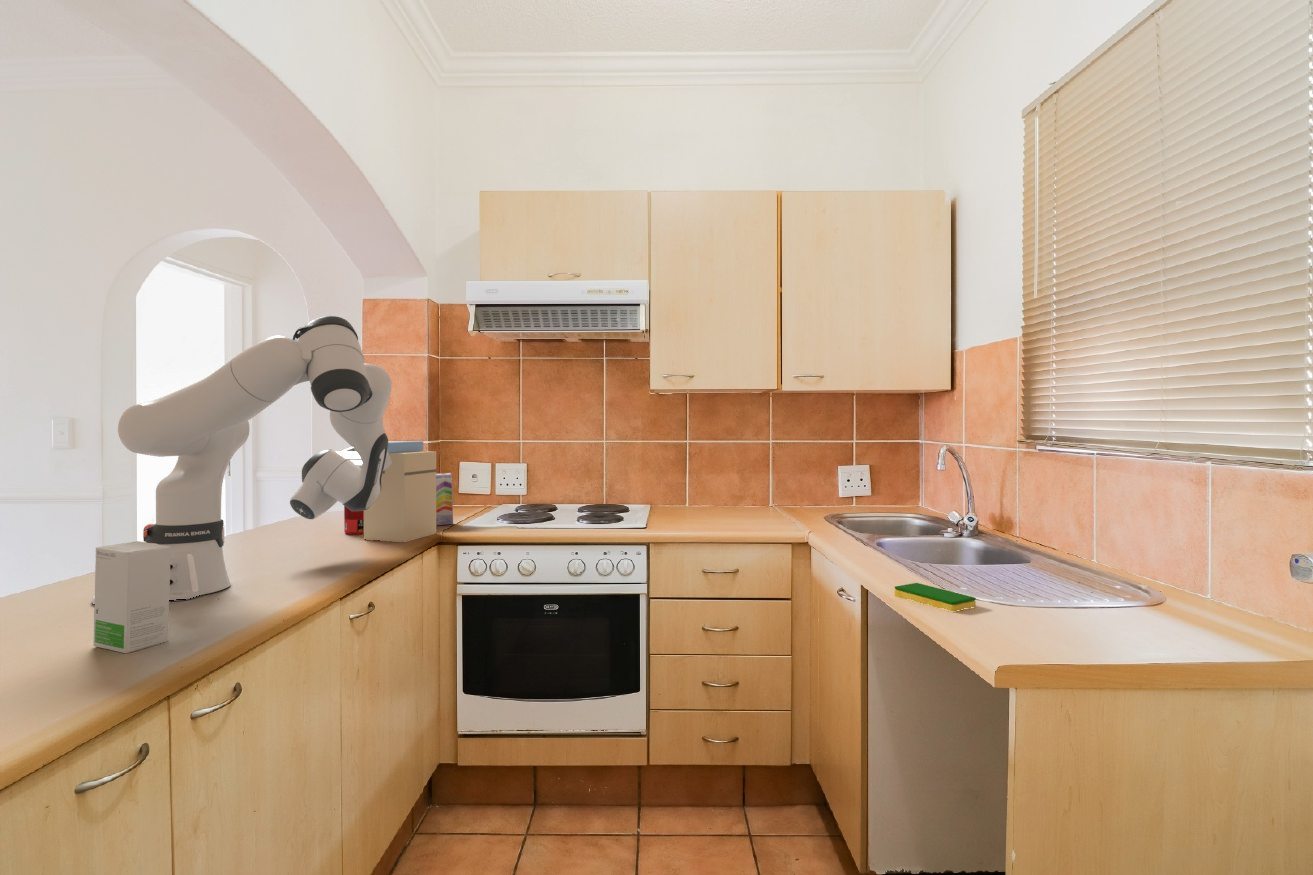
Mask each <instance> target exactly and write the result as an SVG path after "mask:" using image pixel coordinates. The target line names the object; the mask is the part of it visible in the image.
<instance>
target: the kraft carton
mask: <svg viewBox="0 0 1313 875" xmlns="http://www.w3.org/2000/svg"><path fill="white" fill-rule="evenodd" d="M388 454H389V456H390V458H391V461H392V464H391V465H390V466H389V467H388V468H387V469H385V470H384V471H383V473H382V478H381V492H380V494H379V497H378V499H377V500H376V502H375V503H374V504H373V505H372V506H371V507H370V508H369V509H367V510H364V534H363V540H364V539H366V540H365V541H373V540H380V541H379V542H390V541H391V542H392V543H394V542H395V543H408V542H411V541H414V540H418V539H422V538H425V537H429V536H433V535H436V534H437V525H436V474H437V451H436V450H435V451H432V450H431V451H429V450H428V451H427V450H423V451H413V452H397V453H388Z"/></svg>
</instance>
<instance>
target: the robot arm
mask: <svg viewBox="0 0 1313 875" xmlns="http://www.w3.org/2000/svg"><path fill="white" fill-rule="evenodd" d="M304 382H305V383H306V382H309V384H310V391H311V394H312V396H313V399H314V400H315V401H316V403H317V405H319V406H320V407H321V408H323V409H325V410H327V411H329V420H330V424H331V426H332V428H333V430H334V431H335V432H336V434H338V435H339V436H340V437H341V438H342V439H343V440H344V441H345V442H346V443H347V444H349V446H351V447H348V448H345V449H343V450H341V451H340V450H339V451H338V450H333V449H329V448H328V449H323V450H319V451H317V452H316V453H314V454H313V455H312V456H311V457H310V458H309V459H308V460H307V461H305V463H304V464H303V466H302V468H301V482H302V484H301V486H300V487H299V488H298V489H297V491H296V492H294V494H293V495H292V496H291V497H290V500H289V505H290V507H291V508H292V510H293V511H294V512H295V513H296V514H297V515H299V516H301V517H302V518H304V519H307V520H315V519H317V518H319V517H320V516H322V515H323V514H324V513H326V512H327V511H328V510H330V509H331V508H332V507H334V505H336V503H337V502H339V503H341V504H342V505H343V507H344V506H345V507H347V508H348V509H349V510H351V511H364V510H367V509H369V508H370V507H371V506H372V505H373V504H374V503H375V502H376V500H377V499H378V497H379V494H380V492H381V478H382V473H383V471H384V470H385V469H387V468H388V467H389V466H390V465H391V464H392V461H391V458H390V456H389V454H388V452H387V451H388V442H389V438H388V435H387V433H386V431H385V427H384V419H383V418H384V414H385V412H386V410H387V407H388V405H389V401H390V397H391V393H392V379H391V376H390V375H389V373H388V372H387V371H386V370H385V369H384V368H382V367H381V366H379V365H377V364H373V363H368V362H367V363H365V358H364V354H363V350H362V347H361V345H360V342H359V336H358V333H357V331H356V330H355V329H354V327H353V326H352V324H351V323H350V322H349V321H348V320H347V319H345V318H343V317H340V316H336V315H327V316H321V317H317V318H315V319H313V320H311V321H309V322H307V323H306V324H305V325H304V326H301V327H299V328H297V330H295V332H294V334H293V336H292V339H291V338H290V337H287V336H283V335H273V336H270V337H267V338H266V339H263V340H261V341H259V342H257V343H255V344H253V345H251V346H250V347H248V348H246V349H244V350H243V351H242V352H240V353H238V354H237V355H236V356H235V357H233V358H231V359H230V360H229V361H227V363H225V364H224V365H222V366H220V368H218V369H217V370H215V371H214V372H213V373H211V374H210V375H208V376H207V377H204V378H203V379H201V380H199V381H197V382H195V383H193V384H190V385H188V386H186V387H183V388H181V389H178V390H176V391H174V392H171V393H170V394H167V395H164V396H162V397H159V398H157V399H153V400H150V401H147V402H146V401H145V402H143V403H139V404H134V405H131V406H129V407H127V408H126V409H125V410H124V411H123V412H122V415H121V416H120V418H119V420H118V423H117V432H118V437H119V440H120V441H121V443H122V445H123V446H124V447H125V448H126V449H127V450H129V451H130V452H131V453H135V454H140V455H145V456H152V457H159V458H163V457H177V460H176V463H175V466H174V468H173V469H172V471H170V473H169V474H168V475H167V476H165V477H164V478H162V479H161V480H160V481H159V482H158V483H157V485H156V488H155V523H148V524H146V525H145V526H144V527H143V533H142V534H143V535H142V536H143V542H146V543H156V544H158V545H164V546H169V547H171V560H170V591H169V600H174V601H176V600H175V599H186V600H190V598H191V599H193V597H194V598H197V597H199V595H200V596H202V595H206V594H207V595H208V594H212V593H215V592H219V591H221V590H225V589H227V588H229V587H230V586H231V585H232V583H231V581H230V578H229V574H228V571H227V567H226V561H225V557H224V556H225V555H224V550H223V546H224V544H225V525H224V520H223V519H222V494H223V493H222V491H223V483H224V478H225V474H226V471H227V469H228V466H229V465H230V462H231V460H232V458H233V456H234V455H235V454H236V452H237V451H238V450H239V449H240V448H242V447H243V446H244V445H245V443H246V442H247V440H248V438H249V435H250V429H251V428H250V423H249V421H250V420H251V419H253V418H254V417H256V416H257V415H258V414H260V413H261V412H262V411H264V410H266V409H267V408H268V407H270V406H271V405H273V403H275V402H276V401H277V400H279V399H280V398H281V397H283V396H284V395H285V394H287V393H288V392H289V391H290V390H291V389H292V388H293V387H295V386H297V385H299V384H301V383H304ZM196 596H197V597H196ZM91 603H92V604H93V605H94V604H95V593H94V594H93V595H92V599H91Z"/></svg>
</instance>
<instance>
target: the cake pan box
mask: <svg viewBox="0 0 1313 875" xmlns="http://www.w3.org/2000/svg"><path fill="white" fill-rule="evenodd" d="M453 501H454V499H453V475H452V473H451V472H448V473H444V472H443V473H436V526H443V525H453V524H454V509H453V508H454V504H453Z"/></svg>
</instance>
